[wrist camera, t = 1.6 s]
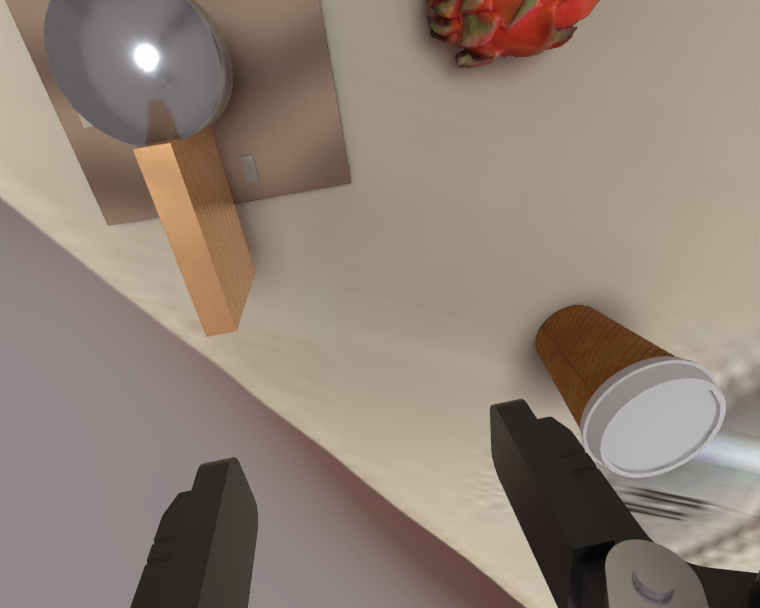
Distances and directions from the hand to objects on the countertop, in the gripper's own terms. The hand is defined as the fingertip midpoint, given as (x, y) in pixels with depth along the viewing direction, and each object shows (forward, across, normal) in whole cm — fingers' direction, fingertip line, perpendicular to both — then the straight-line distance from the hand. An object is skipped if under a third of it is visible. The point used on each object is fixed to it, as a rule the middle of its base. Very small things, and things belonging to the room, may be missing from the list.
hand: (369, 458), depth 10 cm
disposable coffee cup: (+24, -18, +16) cm, 34 cm away
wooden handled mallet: (+20, +6, -5) cm, 21 cm away
